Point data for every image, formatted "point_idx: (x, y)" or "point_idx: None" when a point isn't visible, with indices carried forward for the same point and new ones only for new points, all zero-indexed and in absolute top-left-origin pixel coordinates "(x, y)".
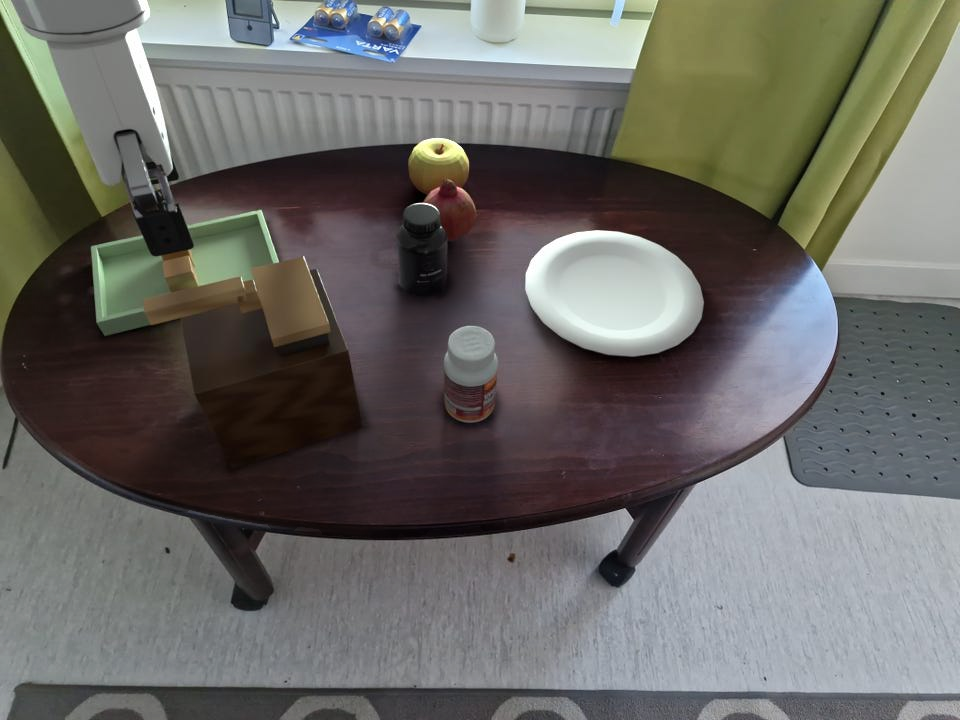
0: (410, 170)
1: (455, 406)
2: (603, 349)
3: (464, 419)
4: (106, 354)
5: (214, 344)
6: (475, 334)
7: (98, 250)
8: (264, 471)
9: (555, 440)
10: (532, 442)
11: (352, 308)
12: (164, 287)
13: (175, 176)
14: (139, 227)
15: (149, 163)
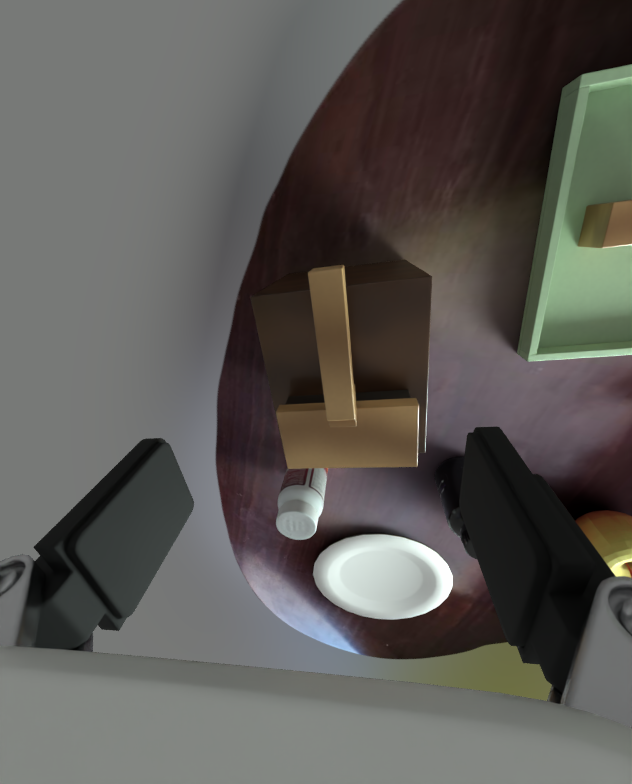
0: (626, 526)
1: None
2: (324, 554)
3: None
4: (519, 96)
5: None
6: (304, 530)
7: None
8: None
9: (265, 499)
10: (266, 488)
11: (453, 410)
12: (617, 190)
13: (462, 514)
14: (74, 507)
15: (489, 523)
